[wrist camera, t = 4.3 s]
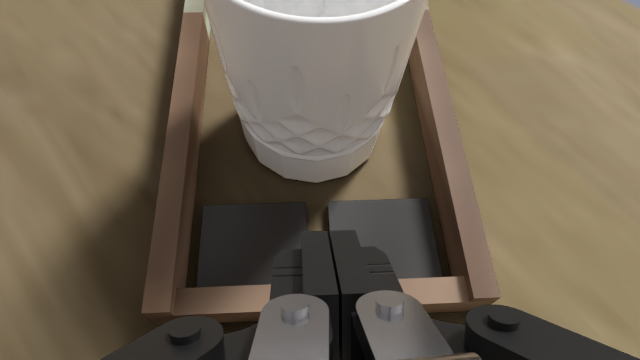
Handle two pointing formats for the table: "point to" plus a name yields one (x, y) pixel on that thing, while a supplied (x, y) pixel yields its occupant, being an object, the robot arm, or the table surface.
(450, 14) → the table surface
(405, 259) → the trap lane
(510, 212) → the table surface
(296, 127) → the white cup
